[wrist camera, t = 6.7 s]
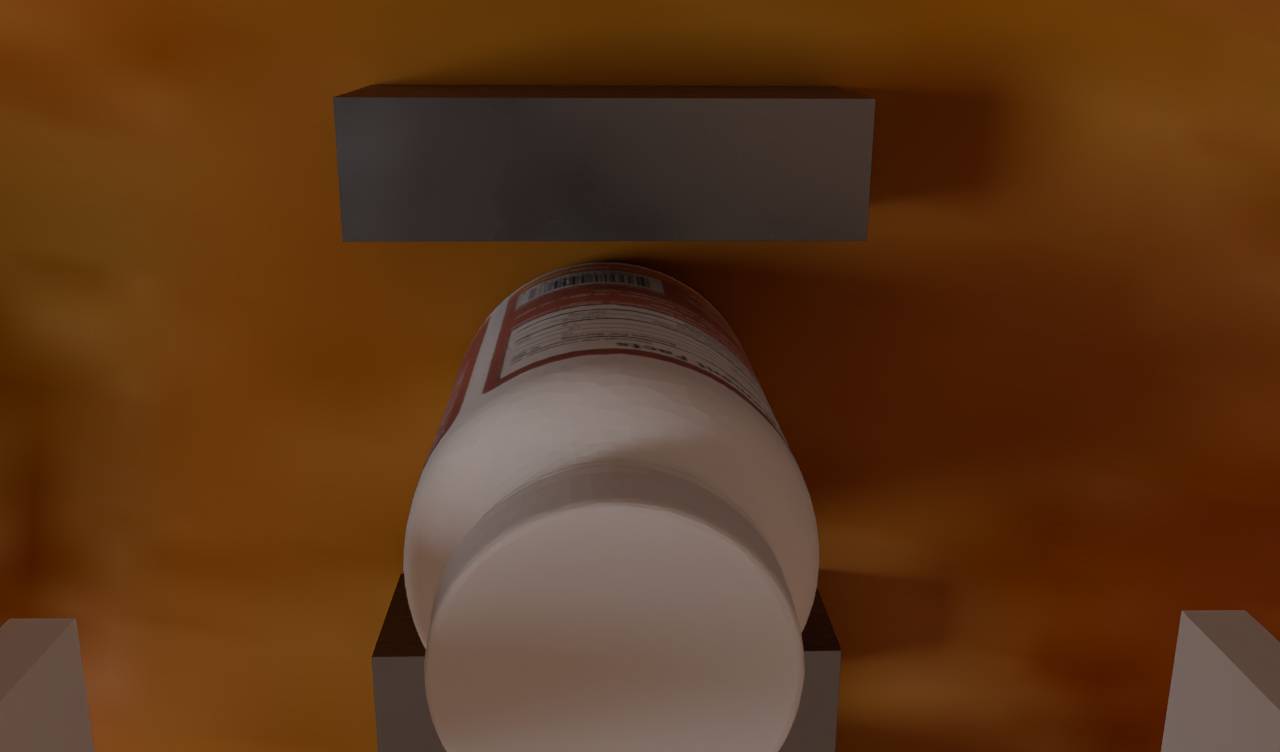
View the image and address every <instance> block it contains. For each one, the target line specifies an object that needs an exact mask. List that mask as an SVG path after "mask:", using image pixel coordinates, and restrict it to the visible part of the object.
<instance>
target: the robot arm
mask: <svg viewBox="0 0 1280 752" xmlns="http://www.w3.org/2000/svg"><path fill="white" fill-rule="evenodd" d="M0 752H95V750H94V743H93V736H92V729H91V722H90V715H89V708H88V701H87V694H86V687H85V680H84V673H83V667H82V660H81V653H80V646H79V639H78V632H77V625H76V618H54V619H9V620H8V621H7V622H6V623H5V624H4V625H3V626H2V627H1V628H0ZM1161 752H1280V642H1279V641H1278V640H1277V639H1276V638H1275V637H1273V636H1272V635H1271V634H1270V633H1269V632H1268V631H1267V630H1266V629H1265V628H1264V627H1263V626H1261V625H1260V624H1259V623H1258V622H1257V621H1256V620H1255V619H1254V618H1253V617H1252V616H1251V615H1249V614H1248V613H1247V612H1246V611H1245V610H1207V611H1182V613H1181V620H1180V626H1179V633H1178V640H1177V647H1176V653H1175V660H1174V667H1173V674H1172V680H1171V687H1170V694H1169V701H1168V708H1167V714H1166V721H1165V728H1164V735H1163V741H1162V748H1161Z"/></svg>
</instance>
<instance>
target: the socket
mask: <svg viewBox="0 0 1280 752" xmlns="http://www.w3.org/2000/svg"><path fill="white" fill-rule="evenodd" d="M333 103H334V117H335V132H336V146H337V161H338V175H339V190H340V204H341V219H342V233H343V242H351V241H867V227H868V211H869V195H870V179H871V163H872V147H873V131H874V114H875V99H874V98H871V97H868V96H864V95H861V94H858V93H855V92H851V91H848V90H845V89H842V88H838V87H835V86H540V85H370V86H367V87H364V88H361V89H358V90H354V91H351V92H348V93H345V94H342V95H339V96H336V97H333ZM801 635H802V642H803V650H804V670H805V675H804V681H803V688H802V694H801V699H800V704H799V708H798V712H797V714H796V717H795V720H794V723H793V725H792V727H791V729H790V732H789V734H788V736H787V738H786V740H785V742H784V744H783V746H782V747H781V748H780V750H779V751H778V752H835V744H836V728H837V711H838V695H839V679H840V663H841V649H840V646H839V644H838V641H837V638H836V636H835V633H834V631H833V628H832V625H831V623H830V620H829V618H828V615H827V612H826V610H825V607H824V605H823V602H822V599H821V597H820V594H819V591H818V589H817V588H816V592H815V597H814V602H813V605H812V608H811V611H810V614H809V617H808V620H807V623H806V625H805V627H804V629H803V631H802V633H801ZM425 652H426V649H425V647H424V645H423V643H422V641H421V639H420V637H419V634H418V632H417V629H416V627H415V624H414V622H413V618H412V614H411V611H410V608H409V604H408V598H407V593H406V587H405V578H404V574H401V575H400V578H399V580H398V583H397V586H396V589H395V592H394V595H393V598H392V600H391V603H390V606H389V609H388V612H387V615H386V618H385V621H384V623H383V626H382V629H381V632H380V635H379V638H378V641H377V643H376V646H375V649H374V652H373V655H372V668H373V683H374V697H375V712H376V726H377V741H378V752H447V751H446V750H445V748H444V747H443V745H442V743H441V741H440V738H439V736H438V734H437V732H436V729H435V727H434V724H433V722H432V718H431V714H430V710H429V706H428V702H427V698H426V690H425V679H424V659H425Z"/></svg>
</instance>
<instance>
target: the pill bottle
mask: <svg viewBox="0 0 1280 752" xmlns="http://www.w3.org/2000/svg"><path fill="white" fill-rule="evenodd" d="M818 571H819V540H818V531H817V524H816V518H815V513H814V509H813V505H812V502H811V498H810V494H809V492H808V489H807V487H806V484H805V482H804V479H803V476H802V473H801V471H800V469H799V467H798V464H797V461H796V459H795V458H794V456H793V454H792V452H791V450H790V448H789V446H788V443H787V441H786V440H785V437H784V435H783V433H782V431H781V429H780V427H779V424H778V422H777V421H776V418H775V416H774V414H773V412H772V410H771V407H770V405H769V403H768V401H767V399H766V397H765V395H764V392H763V390H762V388H761V385H760V383H759V381H758V379H757V377H756V375H755V372H754V370H753V368H752V366H751V364H750V362H749V360H748V358H747V356H746V353H745V351H744V349H743V347H742V345H741V343H740V341H739V340H738V338H737V337H736V335H735V334H734V332H733V331H732V329H731V328H730V326H729V325H728V323H727V322H726V321H725V319H724V318H723V317H722V316H721V314H720V313H719V312H718V311H717V310H716V309H715V308H714V307H713V306H712V305H711V304H710V303H709V302H708V301H707V300H706V299H705V298H703V297H702V296H701V295H700V294H698V293H697V292H696V291H695V290H693V289H692V288H690V287H689V286H687V285H685V284H683V283H682V282H680V281H678V280H676V279H674V278H673V277H670V276H668V275H666V274H663V273H661V272H658V271H655V270H652V269H649V268H646V267H642V266H638V265H632V264H626V263H618V262H592V263H583V264H578V265H572V266H568V267H564V268H561V269H557V270H554V271H552V272H549V273H546V274H544V275H542V276H540V277H537V278H535V279H534V280H532V281H530V282H528V283H527V284H525V285H523V286H522V287H520V288H519V289H517V290H516V291H515V292H513V293H512V294H511V295H510V296H508V297H507V298H506V299H505V300H504V301H503V302H502V303H501V304H500V305H499V306H498V307H496V308H495V310H494V311H493V312H492V313H491V314H490V315H489V316H488V318H487V319H486V320H485V321H484V323H483V324H482V326H481V327H480V328H479V330H478V331H477V333H476V335H475V337H474V338H473V340H472V342H471V343H470V345H469V347H468V350H467V352H466V354H465V356H464V358H463V361H462V364H461V366H460V369H459V372H458V375H457V378H456V381H455V384H454V387H453V390H452V393H451V395H450V398H449V401H448V404H447V407H446V409H445V412H444V415H443V417H442V420H441V423H440V425H439V428H438V431H437V434H436V436H435V439H434V442H433V444H432V447H431V449H430V452H429V454H428V457H427V459H426V462H425V465H424V467H423V470H422V473H421V476H420V479H419V482H418V485H417V488H416V491H415V494H414V497H413V501H412V506H411V510H410V514H409V518H408V523H407V528H406V535H405V544H404V578H405V587H406V593H407V598H408V604H409V608H410V611H411V614H412V618H413V622H414V624H415V627H416V629H417V632H418V634H419V637H420V639H421V641H422V643H423V645H424V647H425V649H426V652H425V659H424V679H425V690H426V698H427V702H428V706H429V710H430V714H431V718H432V722H433V724H434V727H435V729H436V732H437V734H438V736H439V738H440V741H441V743H442V745H443V747H444V748H445V750H446V751H447V752H778V751H779V750H780V748H781V747H782V746H783V744H784V742H785V740H786V738H787V736H788V734H789V732H790V729H791V727H792V725H793V723H794V720H795V717H796V714H797V712H798V708H799V704H800V699H801V694H802V688H803V681H804V675H805V670H804V650H803V642H802V635H801V633H802V631H803V629H804V627H805V625H806V623H807V620H808V617H809V614H810V611H811V608H812V605H813V602H814V597H815V592H816V588H817V581H818Z"/></svg>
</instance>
